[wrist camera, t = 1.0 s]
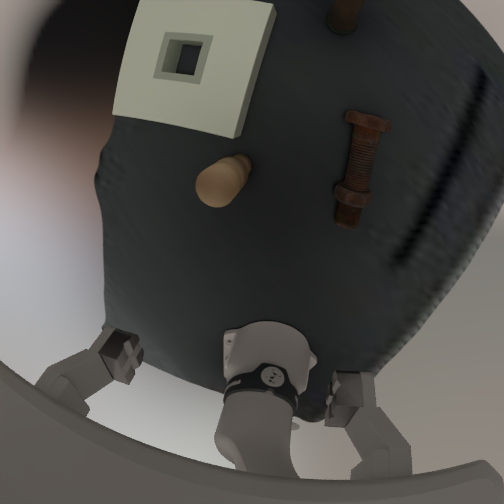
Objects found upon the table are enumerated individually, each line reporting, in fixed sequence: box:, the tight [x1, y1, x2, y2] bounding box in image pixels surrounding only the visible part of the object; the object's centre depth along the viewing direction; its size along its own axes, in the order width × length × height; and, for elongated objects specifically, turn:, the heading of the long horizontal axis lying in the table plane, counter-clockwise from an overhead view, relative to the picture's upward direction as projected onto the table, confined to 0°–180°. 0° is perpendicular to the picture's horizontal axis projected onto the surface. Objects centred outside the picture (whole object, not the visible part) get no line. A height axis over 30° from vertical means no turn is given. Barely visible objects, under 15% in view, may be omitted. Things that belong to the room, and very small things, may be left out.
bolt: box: [334, 110, 391, 230], centre depth 32 cm, size 6×5×15 cm
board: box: [112, 0, 277, 139], centre depth 29 cm, size 18×18×4 cm
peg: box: [196, 154, 252, 207], centre depth 32 cm, size 4×4×11 cm
